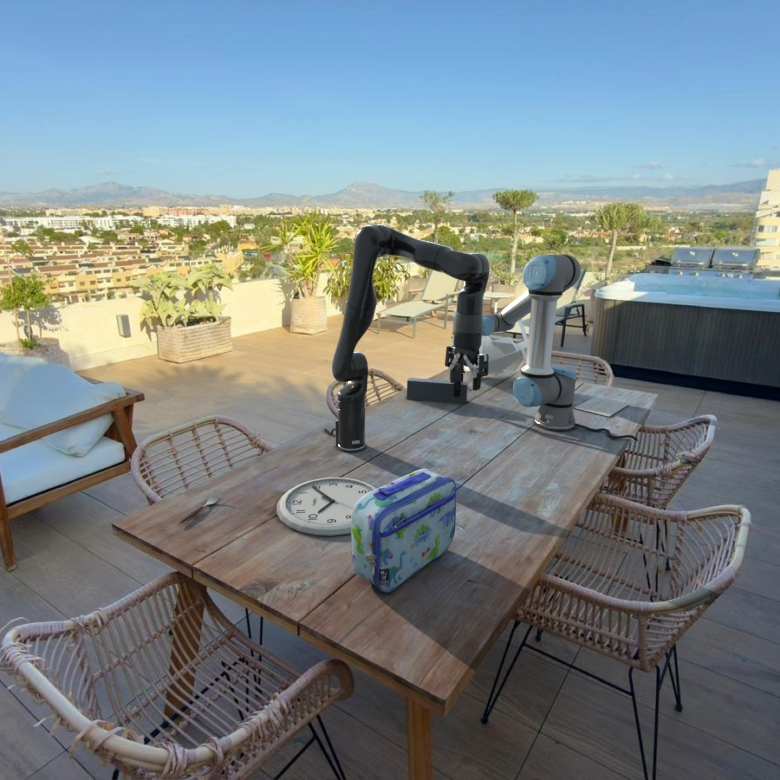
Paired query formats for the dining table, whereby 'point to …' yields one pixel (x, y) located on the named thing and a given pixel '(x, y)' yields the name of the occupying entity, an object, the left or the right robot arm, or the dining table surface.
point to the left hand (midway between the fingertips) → (464, 386)
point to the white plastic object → (502, 352)
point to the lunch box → (402, 527)
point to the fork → (209, 502)
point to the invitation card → (601, 406)
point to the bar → (435, 390)
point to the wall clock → (322, 505)
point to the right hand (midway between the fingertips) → (458, 392)
